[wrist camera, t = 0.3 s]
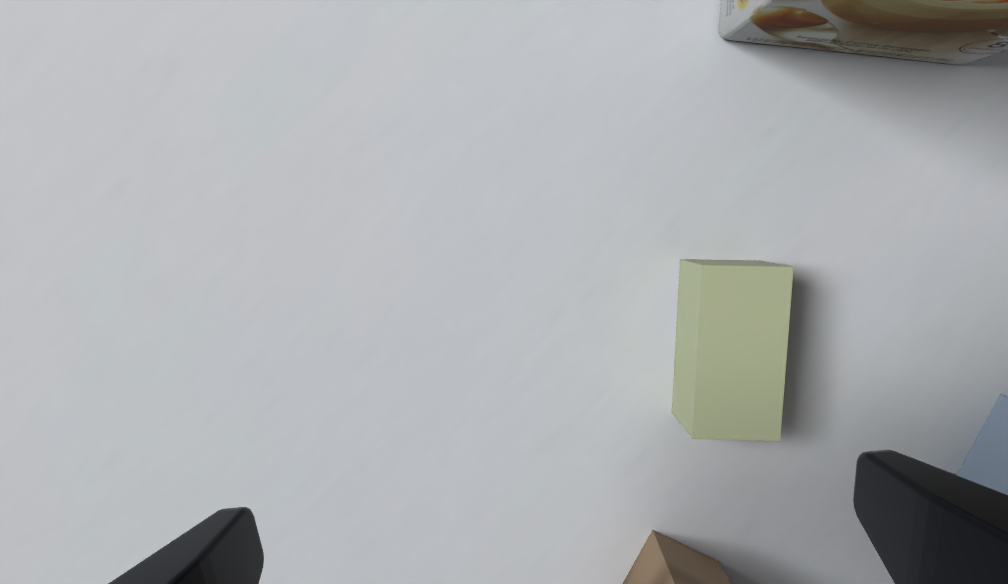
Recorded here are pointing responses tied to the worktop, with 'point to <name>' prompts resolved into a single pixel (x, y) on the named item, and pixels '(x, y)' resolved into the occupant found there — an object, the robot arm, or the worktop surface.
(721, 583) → the walnut brick
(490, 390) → the worktop surface
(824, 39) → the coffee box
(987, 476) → the slate brick
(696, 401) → the olive brick
